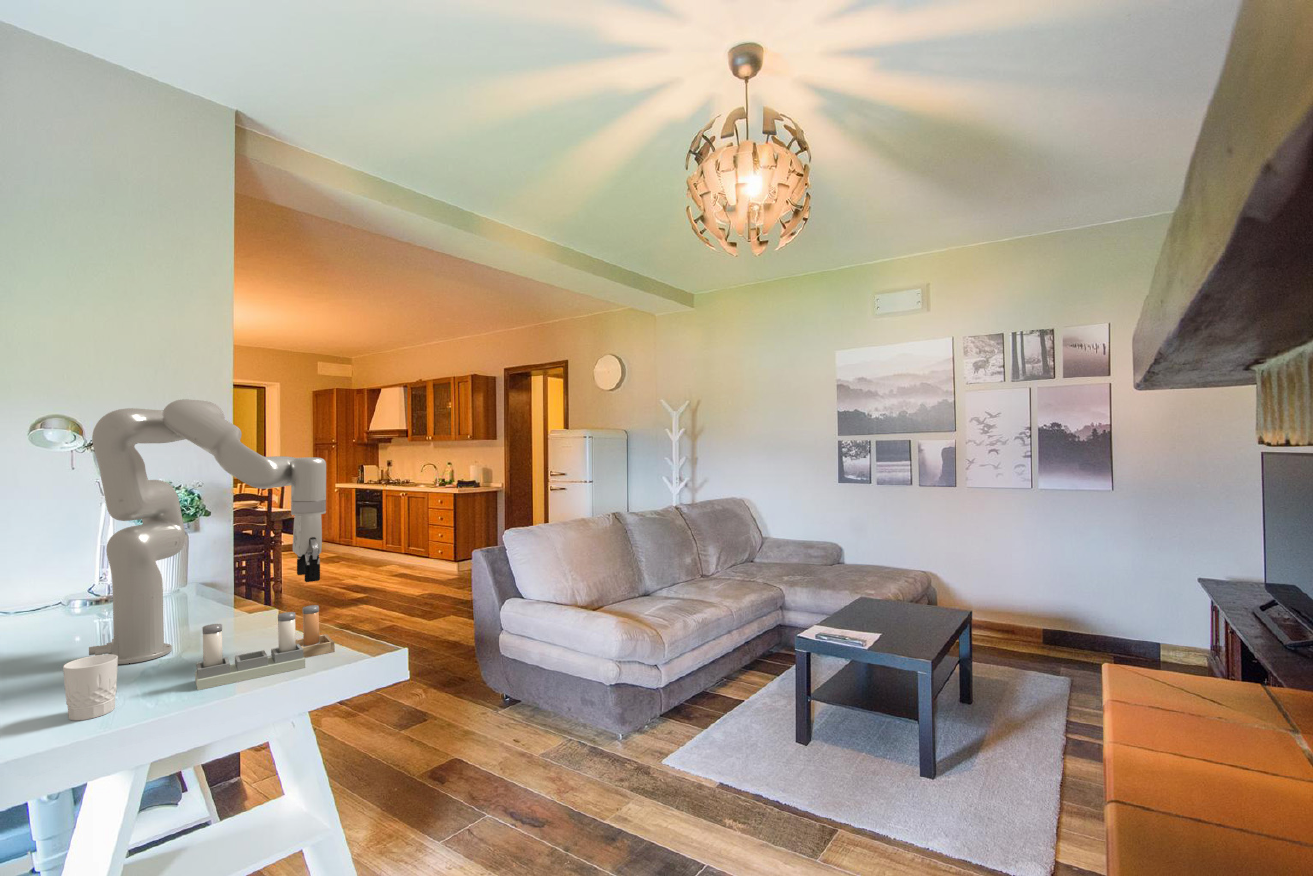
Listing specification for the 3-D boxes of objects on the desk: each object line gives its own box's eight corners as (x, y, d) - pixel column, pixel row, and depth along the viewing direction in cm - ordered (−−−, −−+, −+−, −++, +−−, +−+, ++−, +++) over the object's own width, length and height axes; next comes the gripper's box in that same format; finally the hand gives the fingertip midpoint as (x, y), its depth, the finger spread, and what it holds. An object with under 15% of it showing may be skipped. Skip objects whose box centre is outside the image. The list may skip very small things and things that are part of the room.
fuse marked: (304, 651, 156) (304, 609, 156) (302, 647, 159) (301, 607, 159) (321, 648, 158) (320, 607, 158) (317, 644, 161) (317, 604, 161)
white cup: (128, 707, 126) (127, 656, 126) (81, 724, 119) (80, 670, 119) (101, 703, 129) (100, 652, 129) (53, 719, 121) (52, 666, 121)
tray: (295, 659, 152) (295, 649, 152) (288, 650, 159) (288, 641, 159) (334, 651, 158) (334, 641, 158) (326, 643, 164) (326, 634, 164)
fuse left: (203, 676, 137) (203, 629, 137) (202, 672, 139) (201, 626, 139) (223, 672, 139) (222, 626, 139) (222, 668, 141) (221, 622, 141)
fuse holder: (197, 690, 134) (197, 671, 134) (195, 680, 140) (194, 662, 140) (305, 667, 147) (304, 650, 147) (299, 659, 152) (299, 642, 152)
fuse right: (279, 661, 145) (279, 617, 145) (277, 657, 148) (276, 614, 148) (297, 658, 147) (296, 614, 147) (294, 654, 150) (293, 611, 150)
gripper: (285, 505, 163) (284, 573, 163) (298, 512, 149) (297, 586, 149) (318, 504, 167) (317, 570, 167) (333, 510, 154) (333, 582, 154)
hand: (308, 577), depth 158 cm, fingers open, 9 cm apart
